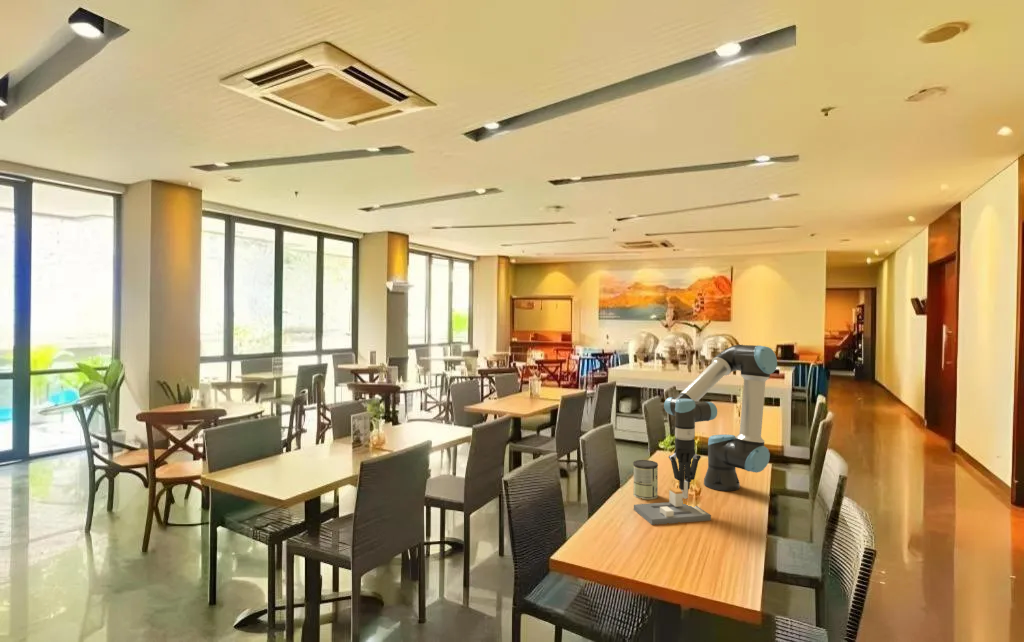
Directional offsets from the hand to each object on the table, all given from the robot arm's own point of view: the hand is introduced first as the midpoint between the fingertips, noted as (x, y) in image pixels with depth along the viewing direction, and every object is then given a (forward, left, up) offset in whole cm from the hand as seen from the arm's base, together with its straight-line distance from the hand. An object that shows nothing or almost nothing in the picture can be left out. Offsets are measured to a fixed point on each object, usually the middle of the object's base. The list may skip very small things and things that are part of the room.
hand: (684, 497), depth 215 cm
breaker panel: (+8, +4, -5) cm, 10 cm away
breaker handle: (+4, 0, -3) cm, 4 cm away
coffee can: (+8, -19, -5) cm, 21 cm away
